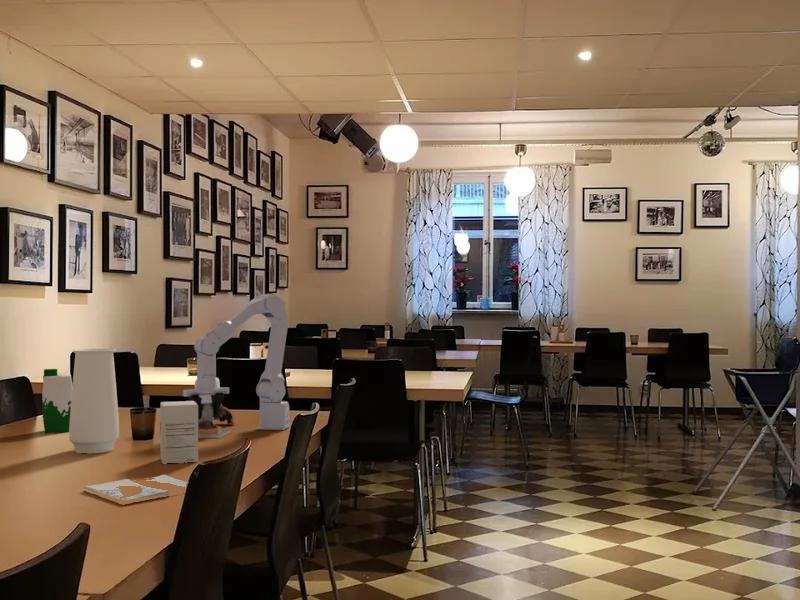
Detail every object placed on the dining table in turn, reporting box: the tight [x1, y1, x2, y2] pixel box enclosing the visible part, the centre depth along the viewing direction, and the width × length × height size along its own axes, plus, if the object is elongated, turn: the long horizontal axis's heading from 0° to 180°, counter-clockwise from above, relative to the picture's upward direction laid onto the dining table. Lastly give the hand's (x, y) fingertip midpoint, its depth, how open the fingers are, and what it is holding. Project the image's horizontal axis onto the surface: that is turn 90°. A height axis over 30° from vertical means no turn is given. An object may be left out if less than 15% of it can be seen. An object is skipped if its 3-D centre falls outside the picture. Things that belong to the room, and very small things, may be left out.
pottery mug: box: [214, 403, 235, 427], centre depth 271 cm, size 12×10×8 cm
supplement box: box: [159, 400, 199, 465], centre depth 208 cm, size 9×9×15 cm
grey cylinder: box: [198, 402, 215, 427], centre depth 251 cm, size 5×5×7 cm
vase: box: [68, 348, 120, 455], centre depth 223 cm, size 13×13×28 cm
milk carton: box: [41, 368, 73, 434], centre depth 259 cm, size 9×9×20 cm
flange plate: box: [198, 424, 232, 439], centre depth 250 cm, size 12×12×2 cm
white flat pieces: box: [83, 474, 187, 500], centre depth 173 cm, size 19×20×2 cm
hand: (206, 418), depth 250 cm, fingers closed on grey cylinder, 5 cm apart
